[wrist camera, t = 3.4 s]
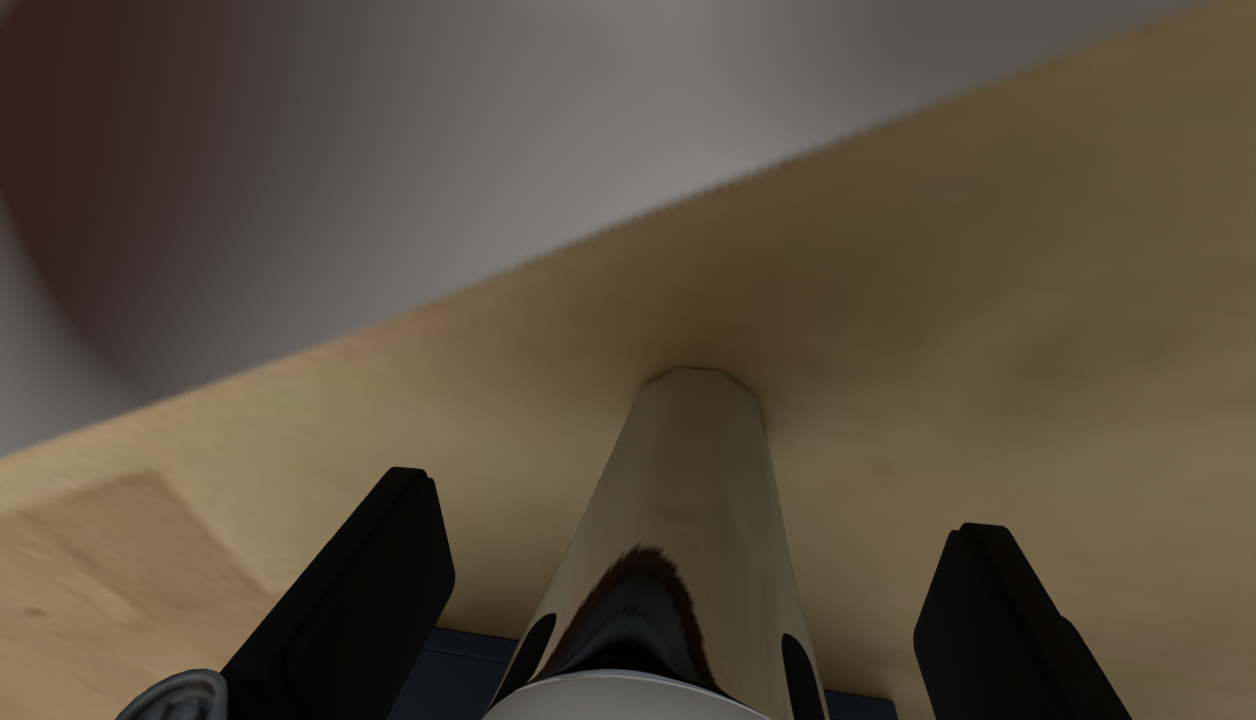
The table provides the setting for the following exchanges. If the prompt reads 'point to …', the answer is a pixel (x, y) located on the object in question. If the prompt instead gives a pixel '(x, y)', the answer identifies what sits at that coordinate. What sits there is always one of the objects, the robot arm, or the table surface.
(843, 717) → the chest
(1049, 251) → the table surface
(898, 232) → the table surface
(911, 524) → the table surface
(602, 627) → the milkshake
